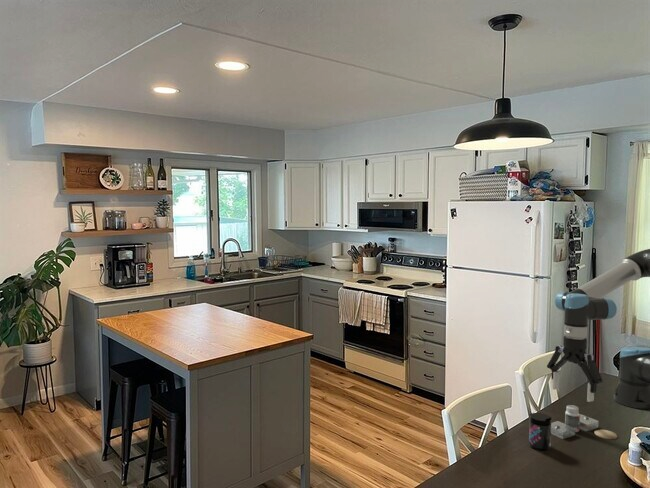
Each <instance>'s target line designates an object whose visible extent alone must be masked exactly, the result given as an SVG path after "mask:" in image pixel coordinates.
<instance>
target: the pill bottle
mask: <svg viewBox="0 0 650 488" xmlns="http://www.w3.org/2000/svg"><path fill="white" fill-rule="evenodd" d="M579 409H580V408H579V407H578V406H576V405H573V404H567V405H566V410H565V412H564V413H565V414H564V415H565V416H564V424H566V425H569V426H571V427H574V428H575V433H578V432H579V431H580V428H579V425H580V413H579V412H580V411H579Z"/></svg>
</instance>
